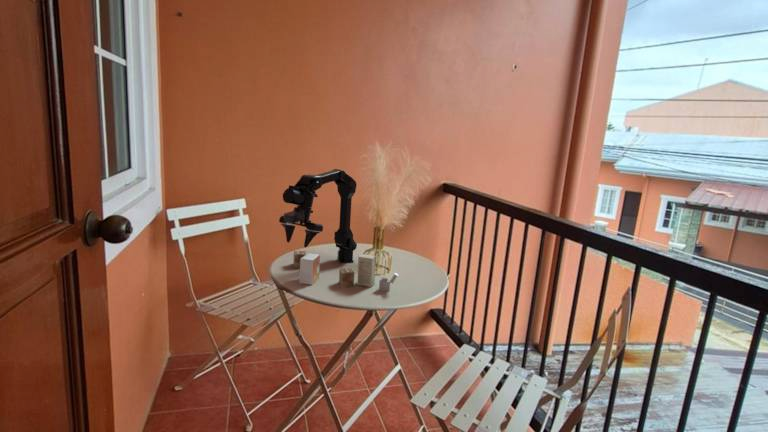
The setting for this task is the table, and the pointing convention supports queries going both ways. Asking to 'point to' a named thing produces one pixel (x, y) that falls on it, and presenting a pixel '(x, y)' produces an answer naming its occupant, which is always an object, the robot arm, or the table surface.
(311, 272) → the small box
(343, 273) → the walnut block one
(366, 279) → the skincare box
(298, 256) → the walnut block seven
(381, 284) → the lighter
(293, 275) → the table surface
